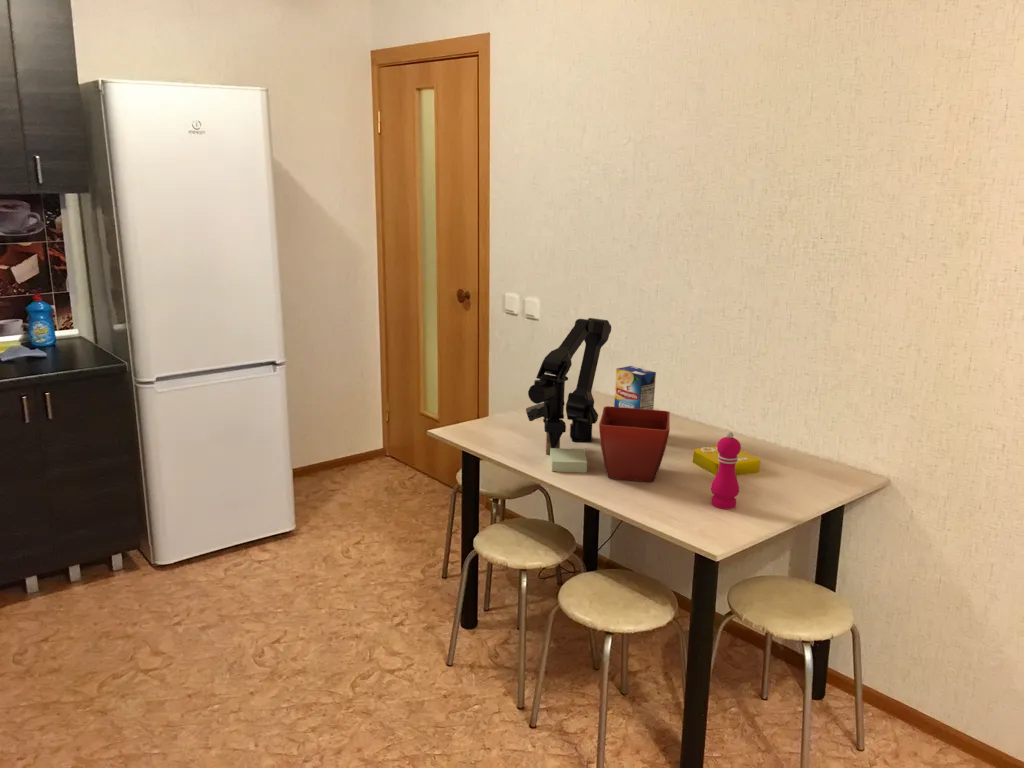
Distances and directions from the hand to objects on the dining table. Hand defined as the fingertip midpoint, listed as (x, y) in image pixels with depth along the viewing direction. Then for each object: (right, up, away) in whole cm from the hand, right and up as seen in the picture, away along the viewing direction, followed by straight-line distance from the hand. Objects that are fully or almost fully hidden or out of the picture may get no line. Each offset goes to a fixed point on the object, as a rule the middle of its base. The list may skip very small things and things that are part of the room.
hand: (552, 446), depth 260 cm
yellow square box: (+51, -6, -8) cm, 52 cm away
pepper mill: (+43, -13, -37) cm, 58 cm away
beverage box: (+27, +2, +19) cm, 33 cm away
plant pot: (+22, -7, -16) cm, 28 cm away
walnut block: (0, -2, +1) cm, 2 cm away
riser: (+4, -5, -10) cm, 12 cm away
